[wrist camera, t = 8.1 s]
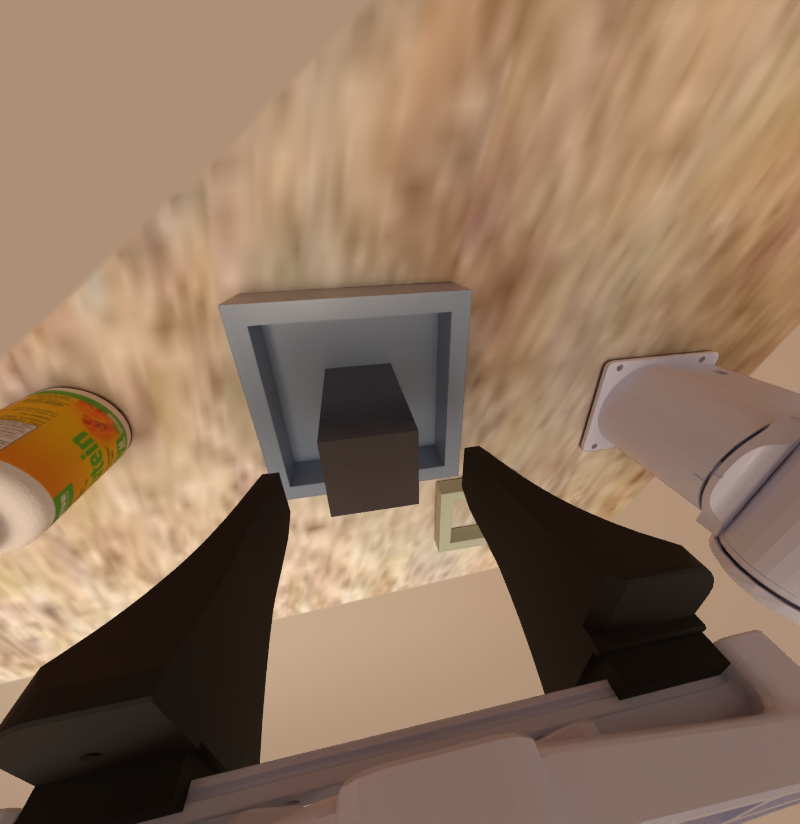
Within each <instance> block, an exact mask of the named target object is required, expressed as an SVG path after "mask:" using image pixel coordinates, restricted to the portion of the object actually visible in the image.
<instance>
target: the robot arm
mask: <svg viewBox="0 0 800 824" xmlns="http://www.w3.org/2000/svg"><path fill="white" fill-rule="evenodd" d="M718 357H719V353H718V352H715V351H705V352H695V353H684V354H674V355H664V356H654V357H643V358H633V359H623V360H613V361H609V362H608V363H607V364H606V365H605V367H604V370H603V373H602V377H601V380H600V383H599V387H598V390H597V393H596V397H595V400H594V403H593V407H592V410H591V413H590V417H589V420H588V423H587V427H586V430H585V433H584V437H583V440H582V443H581V449H582V450H584V451H586V452H587V451H595V450H602V449H609V448H616V447H617V448H618V449H620V450H621V451H622V452H624V453H625V454H626V455H628V456H629V457H630V458H632V459H633V460H634V461H636V462H637V463H638V464H640V465H641V466H642V467H644V468H645V469H646V470H648V471H649V472H650V473H652V474H653V475H654V476H656V477H657V478H658V479H660V480H661V481H662V482H664V483H665V484H666V485H668V486H669V487H670V488H672V489H673V490H674V491H676V492H677V493H678V494H680V495H681V496H683V497H684V498H685V499H686V500H688V501H689V502H690V503H692V504H693V505H694V506H696V507H697V508H698V509H700V510H701V512H700V514H699V516H698V518H697V519H696V521H697V522H699V523H700V524H701V525H702V526H704V527H705V528H706V529H707V530H709V531H710V532H711V533H712V534H711V536H710V538H709V545H710V548H711V551H712V553H713V554H714V556H715V557H716V559H717V560H718V562H719V563H720V565H721V566H722V568H723V569H724V570H725V572H726V573H727V574H728V575H729V576H730V577H731V578H732V579H733V580H734V581H735V582H736V583H737V584H738V585H739V586H740V587H741V588H742V589H744V590H745V591H746V592H747V593H748V594H750V595H751V596H752V597H754V598H755V599H756V600H758V601H759V602H761V603H762V604H763V605H765V606H767V607H768V608H769V609H771V610H773V611H774V612H776V613H777V614H779V615H781V616H783V617H784V618H786V619H788V620H790V621H792V622H794V623H796V624H798V625H800V394H799V393H796V392H793V391H790V390H787V389H784V388H781V387H778V386H775V385H772V384H769V383H766V382H763V381H760V380H757V379H754V378H751V377H748V376H745V375H742V374H739V373H736V372H733V371H730V370H727V369H725V368H722V367H719V366H716V365H715V364H716V362H717V359H718ZM618 366H619V367H618ZM617 367H618V368H617ZM462 489H463V492H464V495H465V498H466V501H467V503H468V506H469V509H470V511H471V513H472V515H473V517H474V519H475V521H476V523H477V525H478V527H479V529H480V531H481V532H482V534H483V536H484V538H485V540H486V542H487V544H488V546H489V548H490V550H491V552H492V554H493V556H494V557H495V560H496V562H497V564H498V566H499V568H500V570H501V573H502V575H503V578H504V580H505V583H506V585H507V588H508V590H509V593H510V595H511V598H512V601H513V603H514V606H515V609H516V611H517V614H518V616H519V619H520V622H521V625H522V628H523V631H524V633H525V636H526V639H527V642H528V645H529V648H530V650H531V653H532V656H533V659H534V662H535V665H536V668H537V671H538V675H539V678H540V680H541V684H542V687H543V690H544V693H545V694H544V695H540V696H536V697H532V698H528V699H524V700H520V701H515V702H512V703H508V704H503V705H499V706H495V707H491V708H487V709H483V710H479V711H474V712H470V713H466V714H462V715H458V716H454V717H450V718H446V719H442V720H438V721H433V722H429V723H425V724H421V725H417V726H413V727H409V728H405V729H401V730H396V731H392V732H388V733H384V734H380V735H376V736H372V737H368V738H364V739H360V740H355V741H351V742H347V743H343V744H339V745H335V746H331V747H327V748H322V749H318V750H315V751H310V752H306V753H302V754H298V755H294V756H290V757H286V758H281V759H278V760H274V761H269V762H265V763H261V764H260V750H261V734H262V719H263V704H264V694H265V681H266V670H267V660H268V649H269V640H270V632H271V624H272V615H273V608H274V602H275V597H276V592H277V588H278V583H279V579H280V574H281V569H282V565H283V560H284V555H285V551H286V546H287V541H288V534H289V523H290V509H289V506H288V502H287V498H286V495H285V491H284V488H283V484H282V481H281V477H280V474H279V472H277V473H270V474H262V475H261V476H260V478H259V479H258V480H257V481H256V482H255V484H254V485H253V486H252V487H251V489H250V490H249V491H248V492H247V494H246V495H245V496H244V497H243V498H242V500H241V501H240V502H239V503H238V505H237V506H236V507H235V508H234V509H233V510H232V512H231V513H230V514H229V515H228V516H227V518H226V519H225V520H224V521H223V522H222V523H221V524H220V525H219V526H218V528H217V529H216V530H215V531H214V532H213V533H212V534H211V535H210V536H209V537H208V538H207V539H206V540H205V541H204V542H203V543H202V544H201V545H200V546H199V547H198V548H197V549H196V550H195V551H194V552H193V553H192V554H191V555H190V556H189V557H188V558H187V559H186V560H185V561H184V562H182V563H181V564H180V565H179V566H178V567H177V568H176V569H175V570H174V571H172V572H171V573H170V574H169V575H168V576H166V577H165V578H164V579H163V580H162V581H160V582H159V583H158V584H157V585H156V586H154V587H153V588H152V589H151V590H150V591H148V592H147V593H146V594H145V595H143V596H142V597H141V598H140V599H138V600H137V601H136V602H134V603H133V604H132V605H130V606H129V607H128V608H126V609H125V610H124V611H122V612H121V613H120V614H118V615H117V616H116V617H114V618H113V619H111V620H110V621H109V622H107V623H106V624H105V625H103V626H102V627H100V628H99V629H97V630H96V631H95V632H93V633H92V634H90V635H89V636H87V637H86V638H84V639H83V640H81V641H80V642H78V643H77V644H75V645H74V646H72V647H71V648H69V649H68V650H66V651H65V652H63V653H62V654H60V655H59V656H57V657H56V658H54V659H53V660H51V661H50V662H48V663H47V664H45V665H43V666H42V667H41V668H40V669H39V670H38V672H37V673H36V674H35V676H34V677H33V679H32V680H31V681H30V683H29V684H28V686H27V687H26V689H25V690H24V691H23V693H22V694H21V696H20V697H19V699H18V700H17V702H16V703H15V704H14V706H13V707H12V709H11V710H10V712H9V713H8V714H7V716H6V717H5V719H4V720H3V721H2V723H1V724H0V769H2V770H4V771H6V772H8V773H10V774H12V775H14V776H16V777H18V778H20V779H22V780H24V781H26V782H28V783H30V784H32V785H34V786H35V788H34V789H33V791H32V793H31V795H30V797H29V798H28V800H27V802H26V804H25V806H24V807H23V809H22V808H6V809H0V824H742V823H744V822H747V821H750V820H753V819H756V818H759V817H762V816H765V815H768V814H770V813H773V812H776V811H779V810H782V809H785V808H788V807H791V806H794V805H797V804H800V667H799V666H798V665H797V664H796V663H795V662H794V661H793V660H792V659H791V658H790V657H789V656H787V655H786V654H785V653H784V652H783V651H782V650H781V649H780V648H779V647H778V646H777V645H776V644H775V643H773V642H772V641H771V640H770V639H769V638H768V637H767V636H766V635H765V634H764V633H763V632H762V631H759V630H753V631H749V632H744V633H740V634H736V635H732V636H728V637H724V638H722V639H719V640H718V641H716V642H714V643H712V642H711V641H710V640H709V639H708V638H707V637H706V636H705V635H704V634H703V631H705V629H706V626H705V624H704V623H703V622H702V621H701V620H700V619H699V618H698V617H697V616H696V615H695V612H696V611H697V610H698V608H699V607H700V606H701V604H702V603H703V601H704V600H705V599H706V597H707V596H708V595H709V593H710V591H711V590H712V588H713V583H714V577H713V575H712V573H711V572H710V571H709V570H708V569H707V568H706V567H705V566H704V565H703V564H702V563H700V562H699V561H698V560H697V559H696V558H695V557H694V556H693V555H691V554H690V553H689V552H688V551H687V550H686V549H685V548H684V547H683V546H681V545H678V544H675V543H672V542H668V541H665V540H662V539H658V538H655V537H652V536H649V535H646V534H642V533H639V532H636V531H634V530H631V529H628V528H625V527H623V526H620V525H617V524H615V523H612V522H610V521H607V520H605V519H602V518H600V517H598V516H595V515H593V514H591V513H588V512H586V511H584V510H582V509H580V508H577V507H575V506H573V505H571V504H569V503H567V502H565V501H563V500H562V499H560V498H558V497H556V496H554V495H552V494H550V493H549V492H547V491H545V490H543V489H542V488H540V487H538V486H537V485H535V484H534V483H532V482H530V481H529V480H527V479H526V478H524V477H523V476H521V475H520V474H518V473H517V472H515V471H514V470H512V469H511V468H509V467H508V466H506V465H505V464H504V463H502V462H501V461H500V460H498V459H497V458H495V457H494V456H493V455H491V454H490V453H488V452H487V451H486V450H484V449H483V448H481V447H480V446H476V447H468V448H465V450H464V463H463V476H462ZM313 803H314V804H313ZM310 804H311V805H310ZM306 805H309V806H306ZM303 806H306V807H303Z"/></svg>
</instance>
